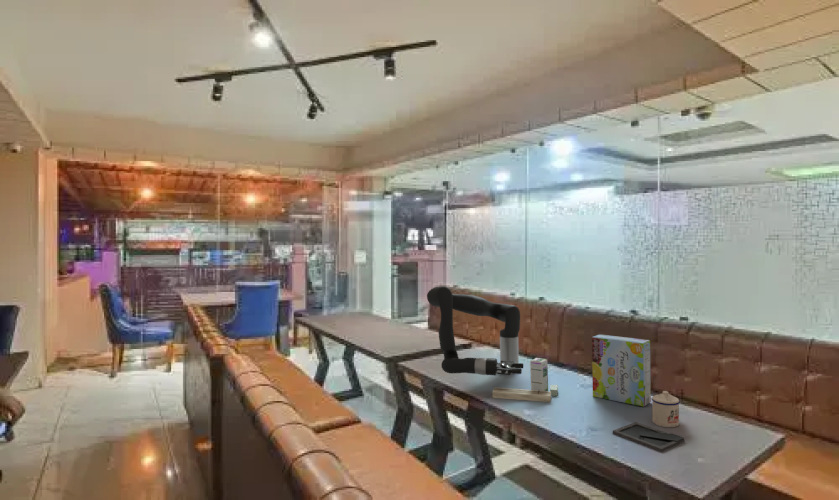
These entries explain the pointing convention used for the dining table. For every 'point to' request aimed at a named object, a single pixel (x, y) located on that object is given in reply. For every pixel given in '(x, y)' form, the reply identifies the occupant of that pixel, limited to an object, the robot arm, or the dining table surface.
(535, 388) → the syrup box
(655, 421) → the teacup with lid
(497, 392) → the birch board
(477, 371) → the robot arm
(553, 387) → the stop block
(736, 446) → the dining table surface
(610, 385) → the snack box
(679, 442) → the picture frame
